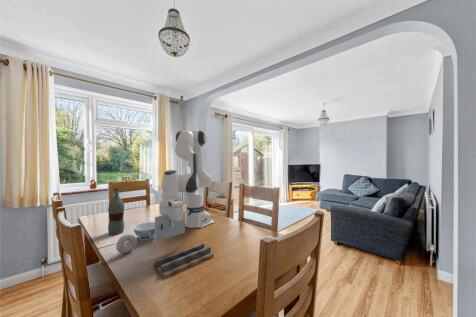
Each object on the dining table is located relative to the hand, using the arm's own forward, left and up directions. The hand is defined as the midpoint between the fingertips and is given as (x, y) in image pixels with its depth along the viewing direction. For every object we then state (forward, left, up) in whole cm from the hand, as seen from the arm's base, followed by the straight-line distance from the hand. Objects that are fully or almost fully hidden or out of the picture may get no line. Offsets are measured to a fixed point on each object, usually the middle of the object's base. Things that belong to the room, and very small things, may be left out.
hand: (170, 225), depth 106 cm
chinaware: (+2, -27, -14) cm, 30 cm away
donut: (+17, -15, -14) cm, 27 cm away
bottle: (+13, -51, -14) cm, 54 cm away
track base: (0, +15, -14) cm, 21 cm away
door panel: (0, 0, -6) cm, 6 cm away
